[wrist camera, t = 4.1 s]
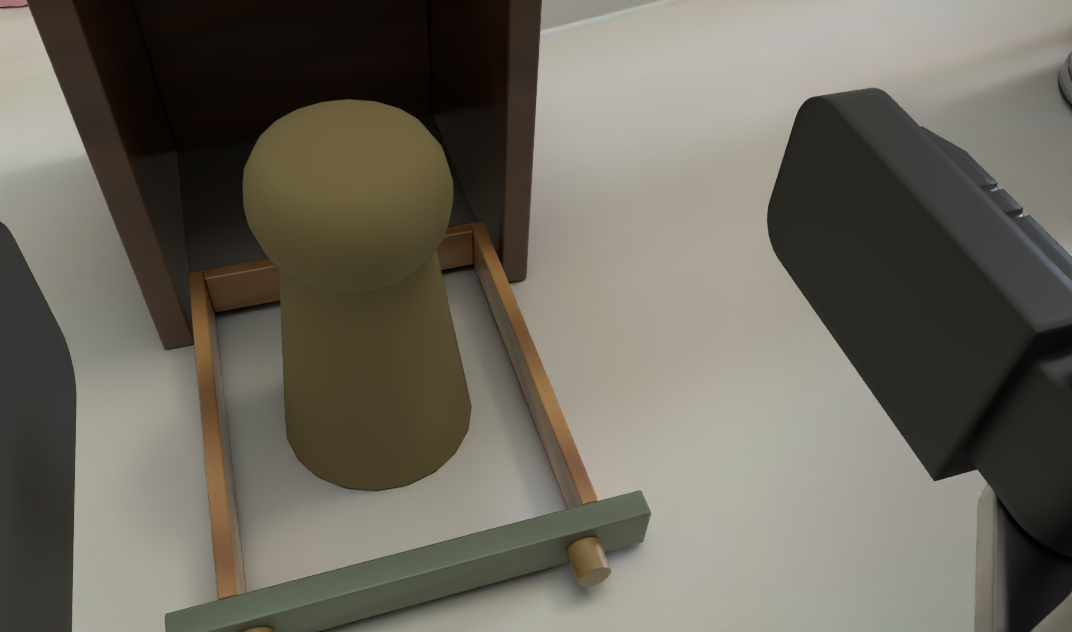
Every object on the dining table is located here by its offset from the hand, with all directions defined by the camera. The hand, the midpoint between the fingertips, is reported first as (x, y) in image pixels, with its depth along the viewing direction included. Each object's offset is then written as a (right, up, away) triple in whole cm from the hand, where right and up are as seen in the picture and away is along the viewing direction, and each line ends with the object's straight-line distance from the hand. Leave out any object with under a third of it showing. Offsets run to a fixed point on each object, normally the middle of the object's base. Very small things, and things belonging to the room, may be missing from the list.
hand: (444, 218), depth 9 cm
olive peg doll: (-4, -4, +21) cm, 21 cm away
